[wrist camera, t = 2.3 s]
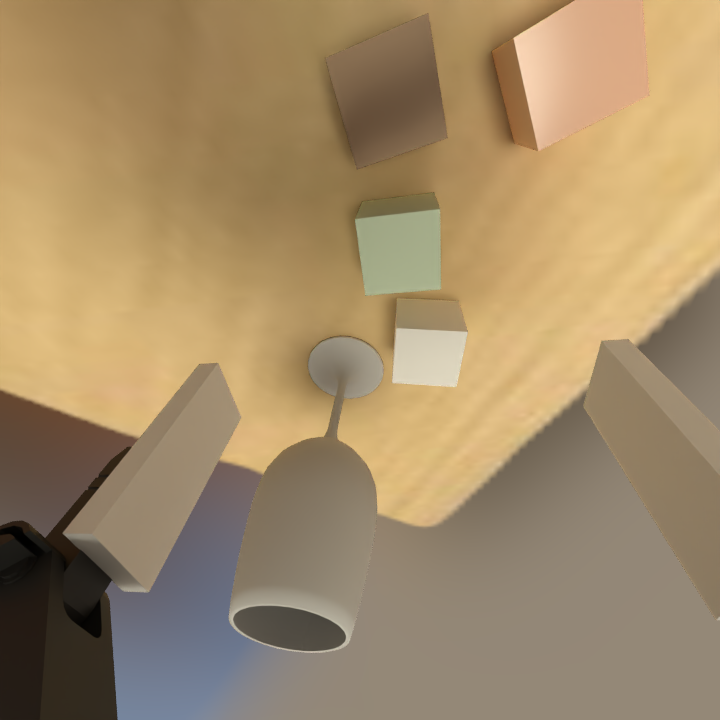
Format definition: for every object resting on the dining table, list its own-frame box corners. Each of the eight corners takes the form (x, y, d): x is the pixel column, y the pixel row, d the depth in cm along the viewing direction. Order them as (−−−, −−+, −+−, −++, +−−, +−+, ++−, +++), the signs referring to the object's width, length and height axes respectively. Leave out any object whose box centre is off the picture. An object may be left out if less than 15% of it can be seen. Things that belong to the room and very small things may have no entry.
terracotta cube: (491, 51, 20) (513, 38, 16) (587, -9, 19) (639, -40, 15) (513, 142, 23) (538, 151, 19) (601, 97, 21) (649, 95, 17)
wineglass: (381, 331, 31) (357, 599, 14) (388, 397, 36) (376, 663, 19) (298, 336, 33) (185, 590, 16) (315, 399, 37) (239, 652, 20)
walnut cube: (339, 67, 21) (324, 58, 17) (422, 31, 20) (428, 12, 16) (364, 158, 24) (356, 169, 20) (439, 132, 23) (447, 137, 19)
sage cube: (362, 201, 26) (354, 219, 21) (433, 192, 25) (440, 208, 21) (370, 268, 28) (365, 295, 24) (435, 262, 28) (440, 289, 24)
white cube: (397, 297, 30) (396, 328, 26) (458, 300, 29) (467, 331, 25) (393, 348, 32) (392, 382, 28) (449, 351, 32) (456, 387, 28)
